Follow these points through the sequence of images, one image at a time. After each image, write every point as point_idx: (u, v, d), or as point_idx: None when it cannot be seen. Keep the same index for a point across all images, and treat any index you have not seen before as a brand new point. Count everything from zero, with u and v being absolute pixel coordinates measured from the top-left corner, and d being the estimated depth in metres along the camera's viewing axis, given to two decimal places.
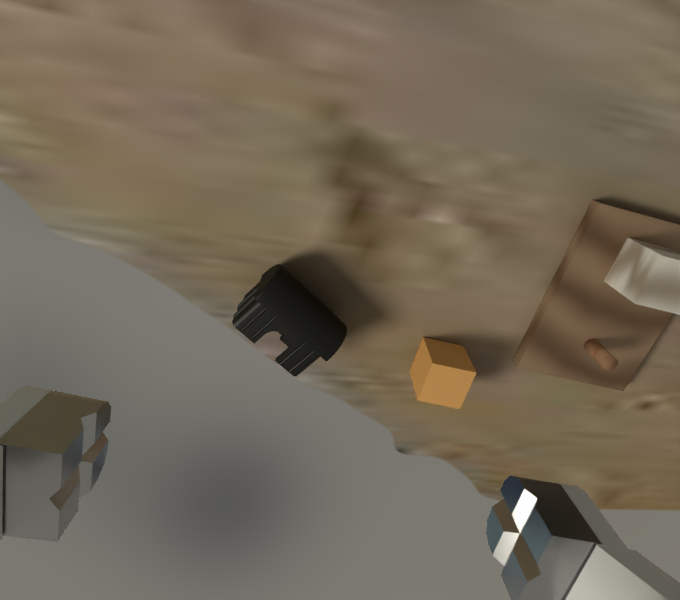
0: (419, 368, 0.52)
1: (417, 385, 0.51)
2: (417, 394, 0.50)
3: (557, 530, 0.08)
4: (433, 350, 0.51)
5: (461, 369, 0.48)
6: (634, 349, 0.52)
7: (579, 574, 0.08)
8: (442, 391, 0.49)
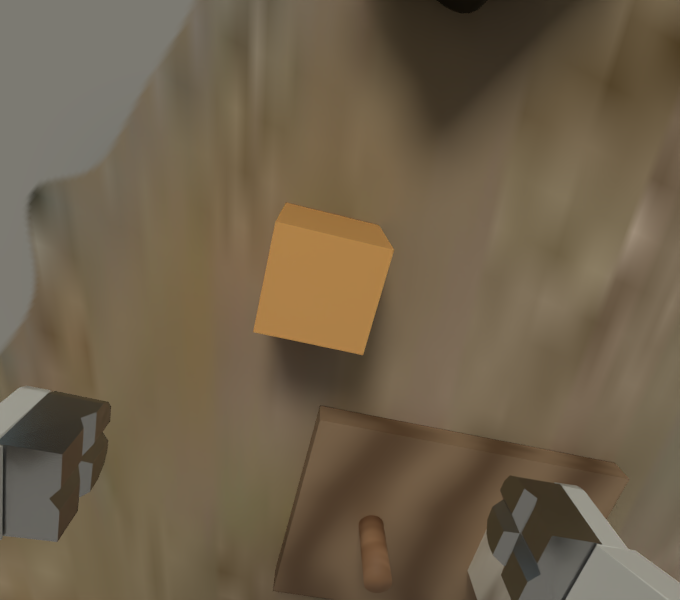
0: (329, 221, 0.21)
1: (299, 219, 0.20)
2: (285, 220, 0.19)
3: (557, 530, 0.08)
4: None
5: (372, 320, 0.20)
6: (359, 584, 0.31)
7: (579, 575, 0.08)
8: (306, 283, 0.19)
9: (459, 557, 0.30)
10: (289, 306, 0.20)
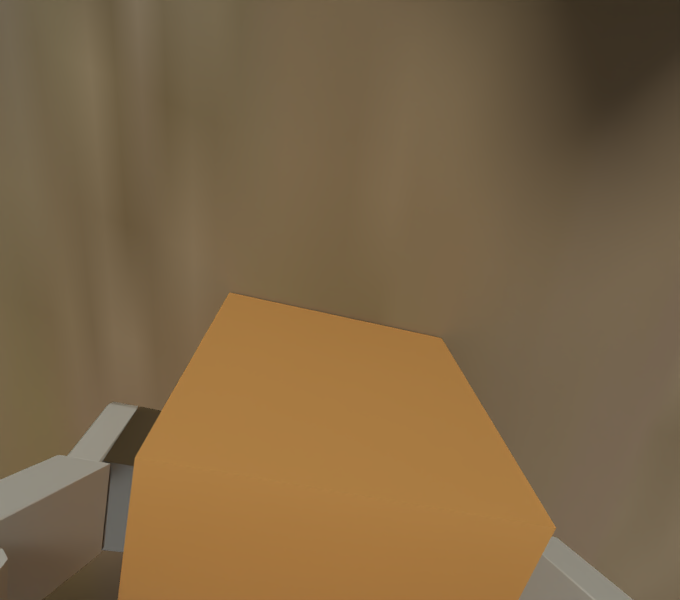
0: (332, 368, 0.08)
1: (240, 394, 0.06)
2: (182, 429, 0.06)
3: None
4: None
5: None
6: None
7: None
8: None
9: None
10: None
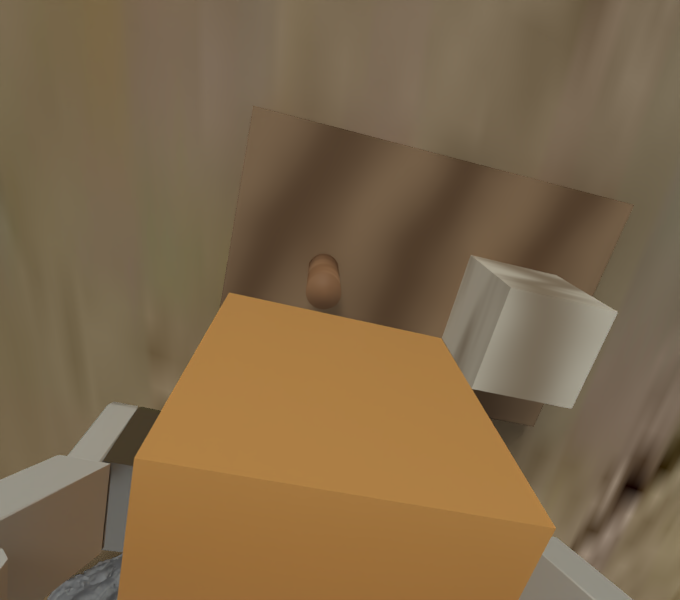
0: (332, 368, 0.08)
1: (239, 395, 0.06)
2: (182, 429, 0.06)
3: None
4: None
5: None
6: None
7: None
8: None
9: (431, 318, 0.25)
10: None
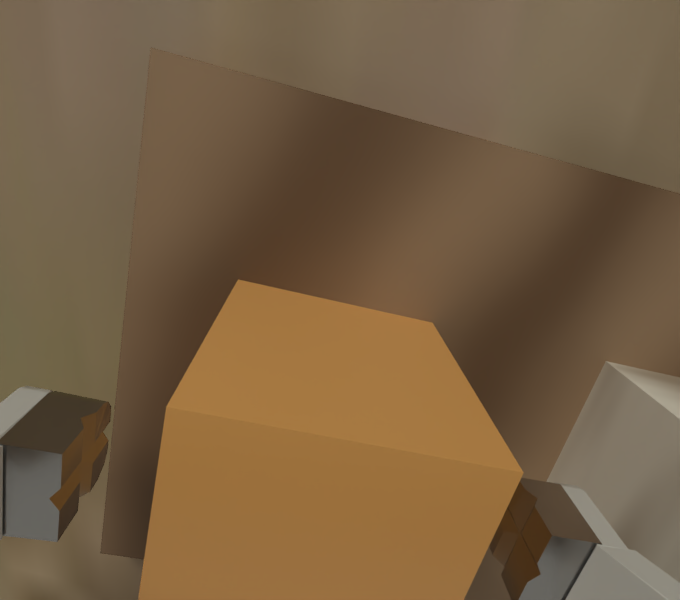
0: (332, 344, 0.09)
1: (252, 362, 0.07)
2: (204, 387, 0.06)
3: (557, 530, 0.08)
4: None
5: None
6: None
7: (579, 574, 0.08)
8: (269, 557, 0.07)
9: None
10: None
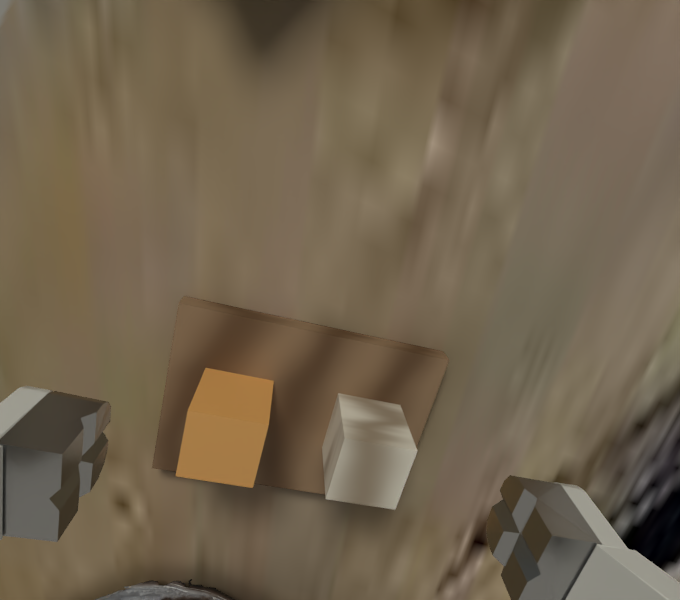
0: (232, 392, 0.31)
1: (207, 399, 0.29)
2: (195, 406, 0.28)
3: (557, 530, 0.08)
4: None
5: (257, 466, 0.29)
6: None
7: (579, 574, 0.08)
8: (211, 446, 0.29)
9: (313, 434, 0.35)
10: (199, 460, 0.29)
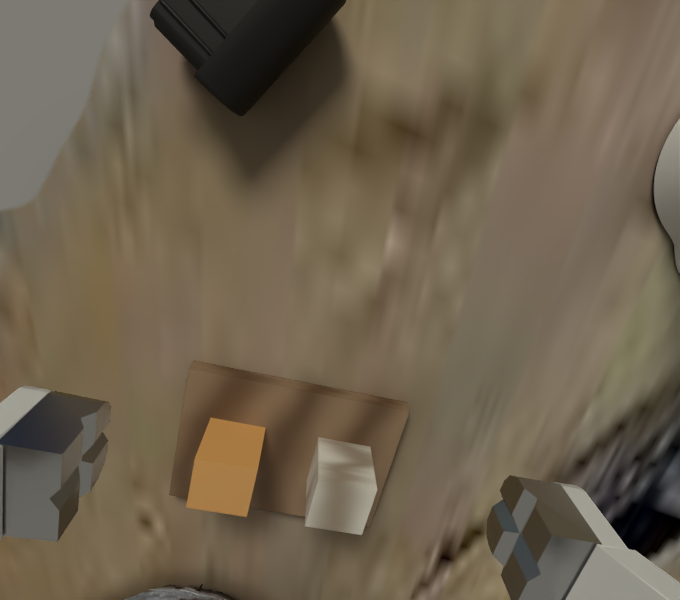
0: (230, 440, 0.39)
1: (210, 447, 0.37)
2: (201, 454, 0.36)
3: (557, 530, 0.08)
4: None
5: (250, 500, 0.37)
6: None
7: (579, 574, 0.08)
8: (213, 485, 0.37)
9: (299, 469, 0.43)
10: (204, 495, 0.37)
